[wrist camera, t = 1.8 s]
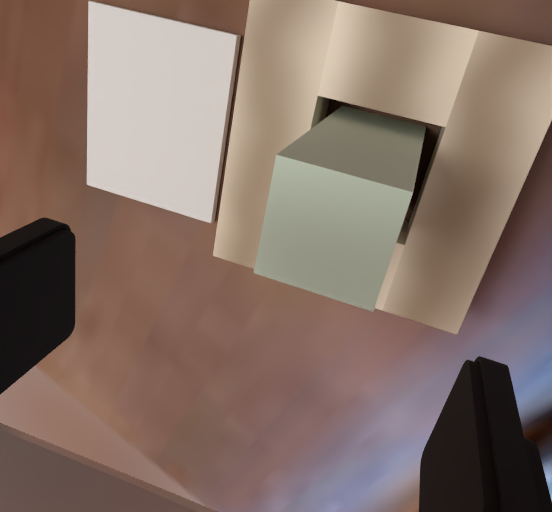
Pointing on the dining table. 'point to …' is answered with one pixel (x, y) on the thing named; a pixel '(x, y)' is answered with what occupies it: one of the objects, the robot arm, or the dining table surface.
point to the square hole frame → (403, 102)
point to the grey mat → (158, 108)
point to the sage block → (340, 205)
